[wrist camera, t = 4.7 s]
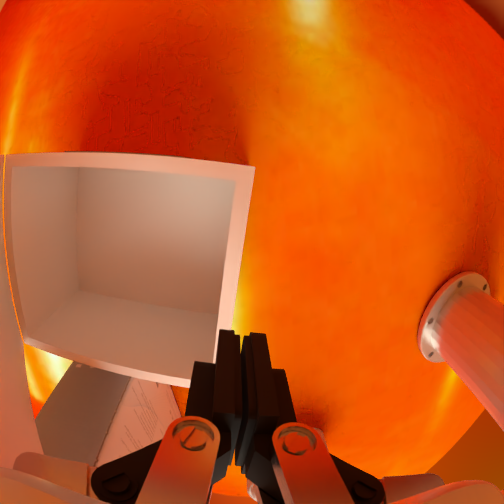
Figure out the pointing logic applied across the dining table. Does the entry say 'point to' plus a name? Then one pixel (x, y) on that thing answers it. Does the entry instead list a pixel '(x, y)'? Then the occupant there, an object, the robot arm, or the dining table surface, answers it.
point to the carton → (125, 257)
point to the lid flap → (13, 374)
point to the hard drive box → (103, 415)
